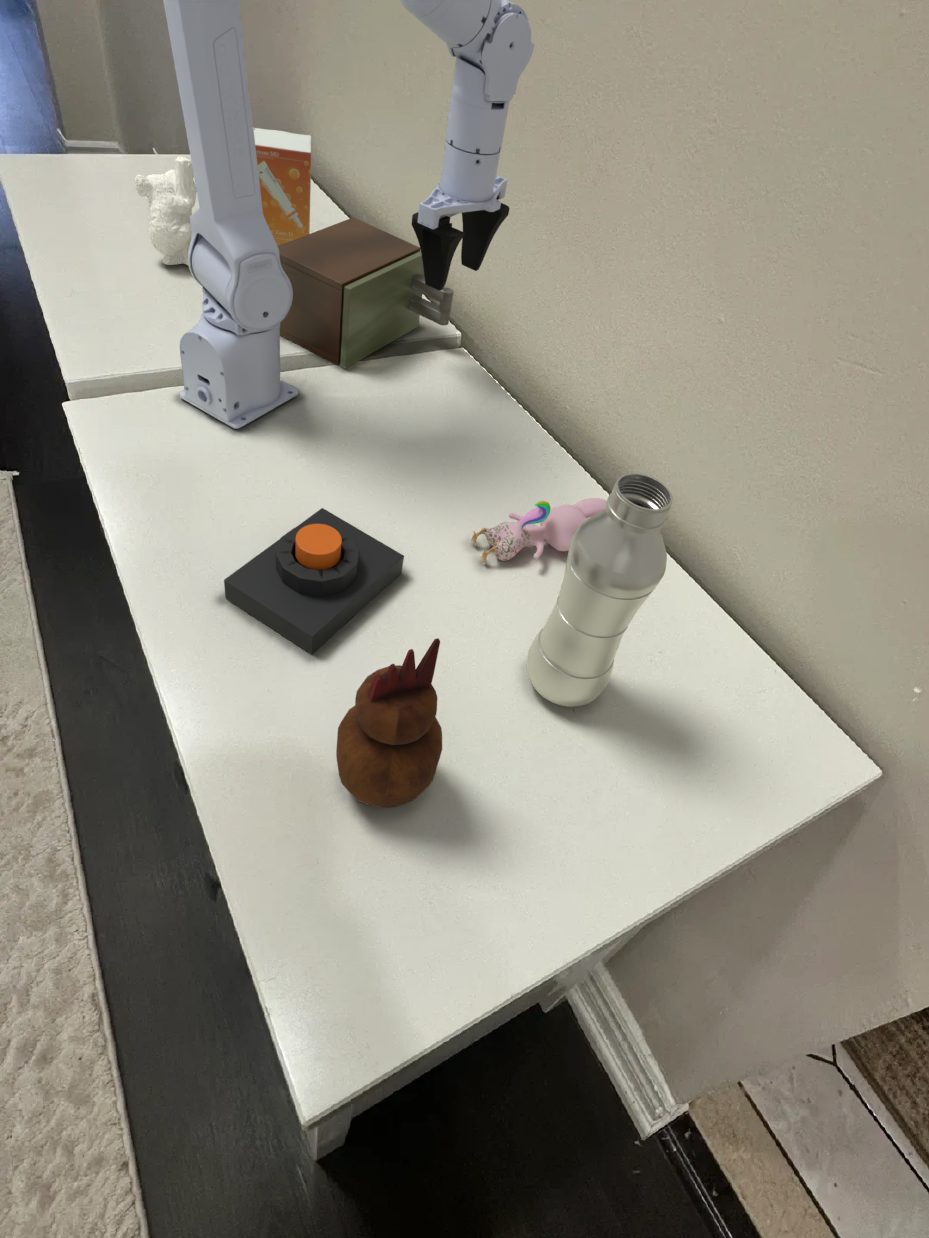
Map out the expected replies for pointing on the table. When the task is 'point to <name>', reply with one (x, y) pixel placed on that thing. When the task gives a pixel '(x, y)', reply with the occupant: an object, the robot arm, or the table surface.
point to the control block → (313, 584)
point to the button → (318, 546)
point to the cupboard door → (388, 308)
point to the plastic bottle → (601, 591)
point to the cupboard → (332, 279)
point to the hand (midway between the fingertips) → (452, 276)
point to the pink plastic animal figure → (539, 528)
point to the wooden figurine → (392, 734)
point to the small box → (284, 182)
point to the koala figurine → (170, 209)
